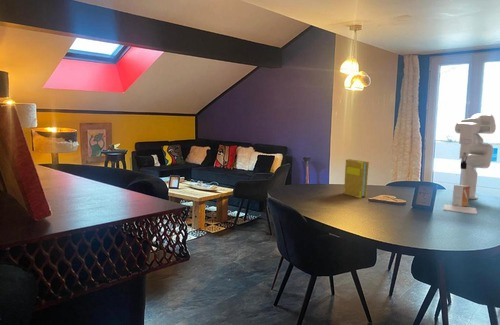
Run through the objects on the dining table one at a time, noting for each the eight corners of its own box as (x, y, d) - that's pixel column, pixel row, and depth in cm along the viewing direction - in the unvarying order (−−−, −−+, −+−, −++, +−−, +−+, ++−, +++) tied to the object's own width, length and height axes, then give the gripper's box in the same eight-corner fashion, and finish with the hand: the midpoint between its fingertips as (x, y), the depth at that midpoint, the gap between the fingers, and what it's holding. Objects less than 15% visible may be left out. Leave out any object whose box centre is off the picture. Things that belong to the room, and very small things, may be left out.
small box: (461, 206, 245) (463, 186, 245) (451, 204, 251) (453, 185, 250) (468, 205, 250) (470, 186, 249) (458, 204, 255) (460, 184, 254)
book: (366, 196, 271) (368, 161, 268) (360, 197, 267) (362, 162, 264) (348, 192, 285) (350, 159, 281) (341, 193, 281) (343, 159, 278)
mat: (444, 205, 251) (444, 204, 251) (476, 209, 243) (476, 208, 243) (443, 210, 237) (443, 209, 237) (477, 214, 229) (477, 213, 229)
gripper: (459, 140, 263) (456, 166, 265) (459, 142, 248) (456, 169, 250) (471, 141, 260) (469, 167, 262) (472, 143, 244) (470, 170, 247)
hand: (463, 167), depth 256 cm, fingers open, 8 cm apart
